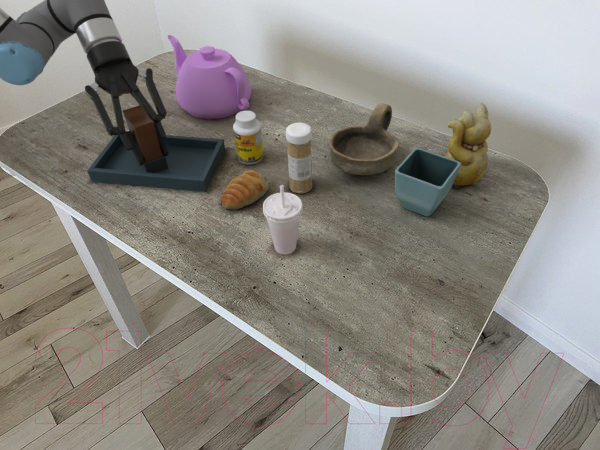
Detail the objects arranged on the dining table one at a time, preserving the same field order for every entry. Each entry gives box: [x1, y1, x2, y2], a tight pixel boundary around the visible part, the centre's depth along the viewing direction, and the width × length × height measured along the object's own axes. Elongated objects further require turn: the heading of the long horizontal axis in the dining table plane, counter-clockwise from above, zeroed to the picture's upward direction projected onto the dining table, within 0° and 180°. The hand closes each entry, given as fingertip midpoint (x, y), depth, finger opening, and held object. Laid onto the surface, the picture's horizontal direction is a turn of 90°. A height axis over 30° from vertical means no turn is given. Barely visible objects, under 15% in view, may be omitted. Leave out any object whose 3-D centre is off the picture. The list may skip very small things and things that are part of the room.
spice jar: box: [285, 122, 313, 195], centre depth 89 cm, size 5×5×14 cm
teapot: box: [167, 34, 252, 120], centre depth 113 cm, size 25×18×14 cm
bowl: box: [328, 102, 400, 176], centre depth 96 cm, size 14×18×10 cm
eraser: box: [122, 104, 168, 173], centre depth 96 cm, size 8×4×11 cm, turn 33°
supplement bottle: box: [232, 110, 264, 165], centre depth 98 cm, size 6×6×10 cm
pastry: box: [220, 169, 269, 211], centre depth 91 cm, size 9×7×4 cm
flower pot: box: [394, 147, 461, 218], centre depth 87 cm, size 9×9×9 cm
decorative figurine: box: [444, 102, 492, 189], centre depth 90 cm, size 10×8×15 cm
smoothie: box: [262, 184, 304, 256], centre depth 78 cm, size 6×6×14 cm
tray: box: [87, 134, 226, 193], centre depth 99 cm, size 24×14×3 cm, turn 81°
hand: (153, 159), depth 96 cm, fingers closed on eraser, 4 cm apart
